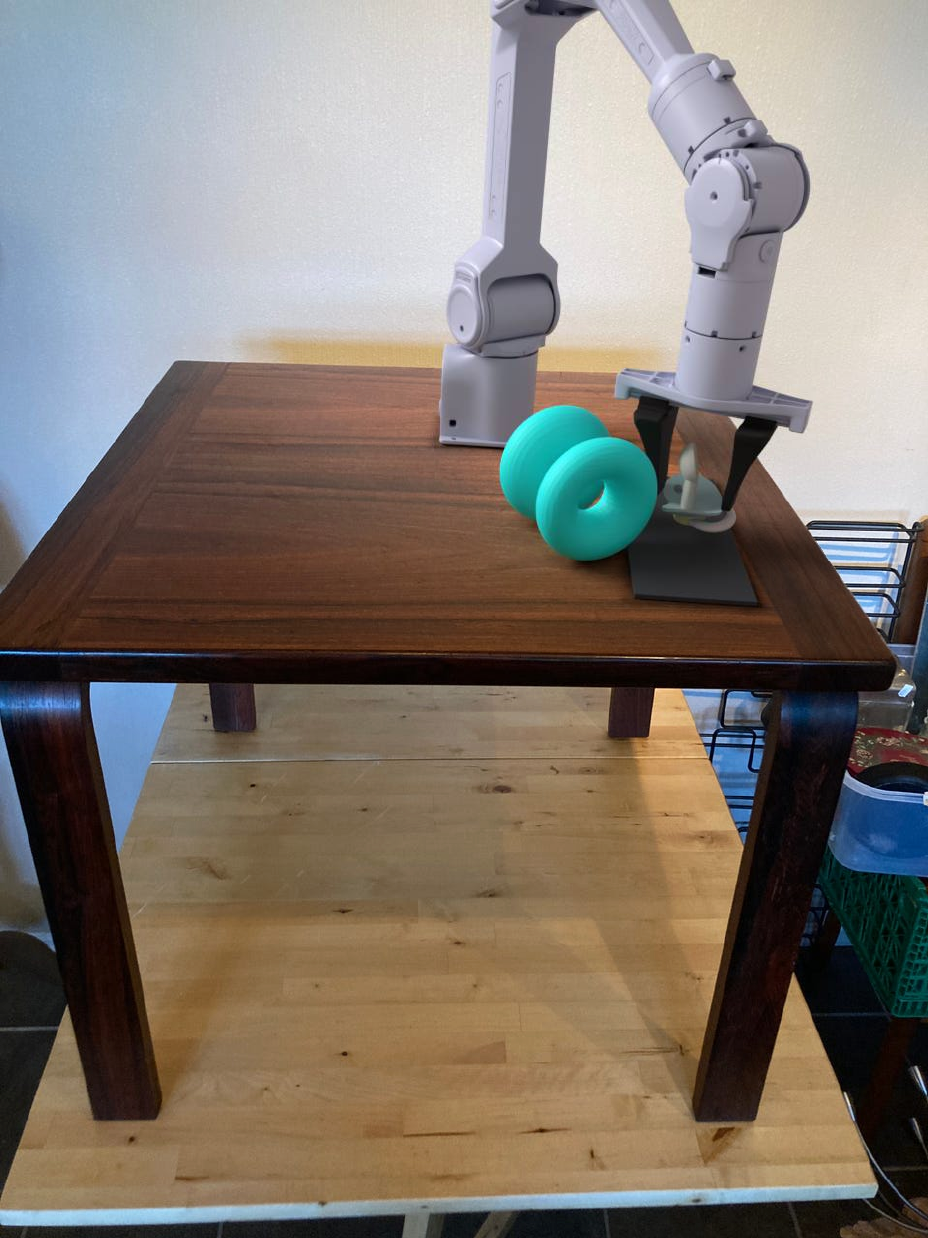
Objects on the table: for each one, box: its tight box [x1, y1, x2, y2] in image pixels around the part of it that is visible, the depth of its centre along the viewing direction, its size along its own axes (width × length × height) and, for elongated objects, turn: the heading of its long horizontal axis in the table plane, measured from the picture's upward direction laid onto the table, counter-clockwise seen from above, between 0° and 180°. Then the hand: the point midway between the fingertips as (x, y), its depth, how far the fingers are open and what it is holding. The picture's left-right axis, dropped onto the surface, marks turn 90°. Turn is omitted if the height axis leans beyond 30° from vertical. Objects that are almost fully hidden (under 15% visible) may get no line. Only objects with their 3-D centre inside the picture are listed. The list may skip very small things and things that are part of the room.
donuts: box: [499, 404, 657, 562], centre depth 77 cm, size 10×10×10 cm
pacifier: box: [662, 442, 737, 532], centre depth 77 cm, size 7×6×6 cm
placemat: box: [625, 476, 758, 607], centre depth 81 cm, size 9×22×1 cm, turn 176°
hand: (692, 498), depth 78 cm, fingers closed on pacifier, 5 cm apart
